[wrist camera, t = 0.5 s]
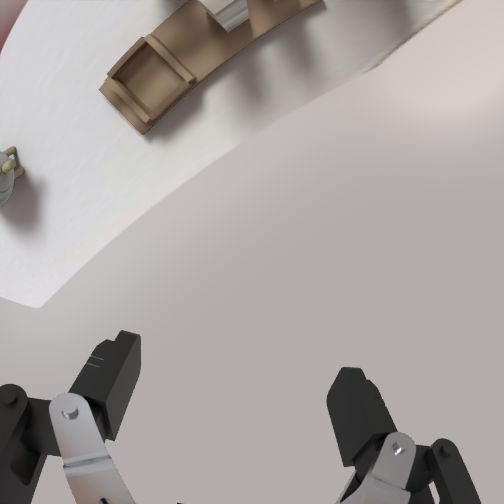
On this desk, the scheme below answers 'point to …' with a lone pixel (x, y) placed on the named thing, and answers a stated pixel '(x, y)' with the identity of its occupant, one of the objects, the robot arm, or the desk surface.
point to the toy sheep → (7, 174)
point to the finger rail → (188, 53)
